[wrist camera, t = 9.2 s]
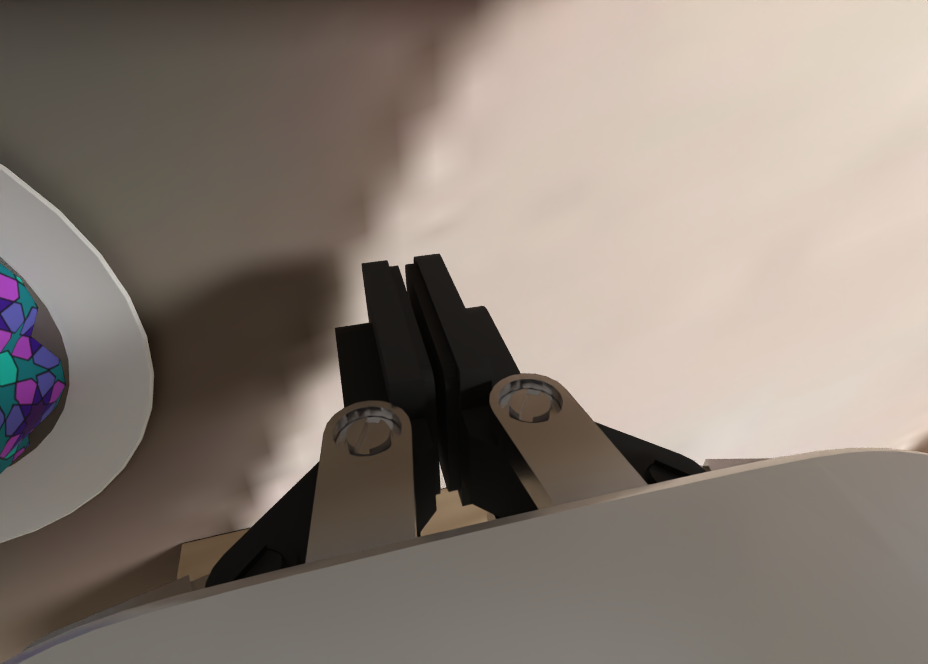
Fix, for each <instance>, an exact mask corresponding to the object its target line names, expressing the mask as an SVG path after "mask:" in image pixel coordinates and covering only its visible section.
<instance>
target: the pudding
mask: <svg viewBox="0 0 928 664" xmlns="http://www.w3.org/2000/svg"><path fill="white" fill-rule="evenodd" d="M0 257H1V258H2V259H3V260H4V261H6V262H7V263H8V264H9V265H10V266H11V267H12V268H13V269H14V270H15V271H16V272H18V273H19V274H20V275H21V276H22V277H23V278H24V279H25V281H26V282H27V283H28V284H29V286H30V287H31V288H32V289H33V291H34V292H35V293H36V294H37V296H38V297H39V298H40V299H41V301H42V302H43V303H44V304H45V306H46V307H47V309H48V311H49V313H50V315H51V316H52V318H53V320H54V322H55V324H56V326H57V327H58V329H59V331H60V333H61V336H62V339H63V343H64V346H65V350H66V353H67V356H68V360H69V383H70V386H69V390H68V394H67V399H66V403H65V407H64V410H63V412H62V414H61V415H60V417H59V419H58V421H57V423H56V425H55V427H54V428H53V430H52V431H51V432H50V433H49V434H48V436H47V437H46V438H45V439H44V440H43V441H42V442H41V443H40V444H39V446H38V447H37V448H36V449H34V450H33V451H32V452H30V453H29V454H27V455H26V456H25V457H23V458H22V459H21V460H19V461H18V462H16V463H15V464H13V465H11V466H9V465H10V464H11V463H12V462H13V461H14V460H15V459H16V458H17V457H18V456H19V455H20V454H21V453H22V452H23V451H24V450H25V449H26V448H27V447H28V446H29V439H28V435H29V434H30V433H31V432H32V431H33V430H34V429H35V428H36V427H37V426H38V425H39V424H40V423H41V422H42V421H43V420H44V419H45V418H46V417H47V416H48V415H49V414H50V413H51V412H52V411H53V410H54V409H55V408H56V407H57V404H58V402H59V400H60V397H61V395H62V393H63V390H64V388H65V386H66V384H65V379H64V374H63V370H62V365H61V360H60V359H58V358H57V357H56V356H55V355H53V354H52V353H51V352H50V351H48V350H47V349H46V348H45V347H43V346H42V345H41V344H40V343H38V342H37V341H36V340H35V339H33V338H32V337H31V334H32V330H33V326H34V322H35V318H36V314H37V310H38V306H37V305H36V303H35V302H34V300H33V298H32V297H31V295H30V294H29V292H28V291H27V289H26V287H25V286H24V284H23V283H22V281H21V279H20V278H18V277H17V276H16V275H15V274H13V273H12V272H11V271H9V270H8V269H7V268H5V267H4V266H3V265H1V264H0V543H2V542H5V541H8V540H11V539H14V538H17V537H20V536H22V535H25V534H28V533H31V532H34V531H37V530H39V529H41V528H43V527H45V526H47V525H49V524H51V523H53V522H55V521H57V520H59V519H61V518H63V517H65V516H67V515H69V514H71V513H72V512H74V511H75V510H76V509H78V508H79V507H81V506H82V505H83V504H85V503H86V502H88V501H89V500H91V499H92V498H93V497H95V496H96V495H98V494H99V493H100V492H102V491H103V490H104V489H105V487H106V486H107V485H108V484H109V483H110V482H111V481H112V480H113V479H114V478H115V477H116V476H117V475H118V474H119V473H120V472H121V471H122V470H123V469H124V468H125V467H126V465H127V463H128V462H129V460H130V458H131V457H132V455H133V454H134V452H135V450H136V449H137V447H138V445H139V444H140V442H141V441H142V438H143V435H144V432H145V429H146V426H147V423H148V420H149V417H150V413H151V410H152V402H153V384H154V371H153V366H152V360H151V355H150V350H149V345H148V339H147V335H146V333H145V331H144V329H143V326H142V324H141V322H140V319H139V317H138V315H137V312H136V310H135V308H134V305H133V303H132V301H131V298H130V296H129V295H128V293H127V292H126V290H125V289H124V287H123V286H122V284H121V283H120V281H119V280H118V278H117V277H116V276H115V274H114V273H113V271H112V270H111V268H110V267H109V265H108V264H107V262H106V261H105V259H104V258H103V256H102V255H101V254H100V253H99V252H98V250H97V249H96V248H95V247H94V246H93V245H92V244H91V243H90V242H89V241H88V240H87V239H86V238H85V237H84V236H83V234H82V233H81V232H80V231H79V230H78V229H77V228H76V227H75V226H74V225H73V224H72V223H71V222H70V221H69V220H68V219H67V217H66V216H65V215H64V214H63V213H62V212H61V211H60V210H59V209H57V208H56V207H55V206H54V205H52V204H51V203H50V202H49V201H47V200H46V199H45V198H44V197H42V196H41V195H40V194H39V193H37V192H36V191H35V190H34V189H32V188H31V187H30V186H29V185H27V184H26V183H25V182H24V181H23V180H21V179H20V178H19V177H18V176H16V175H15V174H14V173H13V172H11V171H10V170H9V169H8V168H6V167H5V166H3V165H2V164H0ZM8 466H9V467H8Z"/></svg>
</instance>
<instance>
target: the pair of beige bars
mask: <svg viewBox="0 0 928 664" xmlns="http://www.w3.org/2000/svg"><path fill="white" fill-rule="evenodd" d="M436 507H437V511H436V512H435V513H434V515H433V516H432V517H431V519H430V520H429V521H428V523H427V524H426V525H425V527H424V528H423V530H422V531H421V536H425V535H430V534H434V533H438V532H443V531H447V530H451V529H456V528H460V527H465V526H469V525H473V524H478V523H482V522H486V521H488V520H487V511H485V510H483V509H481V508H479V507H477V506H475V505H473V504H471V505H467V506H462V504H461V500H460V497H459V494H458V490H456V491H451V492H448V490H447V488H446V489H442V490H441V493H440V494H437V495H436ZM248 530H249V529H245V530H241V531H237V532H232V533H228V534H224V535H219V536H215V537H211V538H206V539H202V540H197V541H193V542H189V543H184V544H182V548H181V554H180V561H179V567H178V573H177V579H180V578H182V577H184V576H187V575H190V577H191V579H192V581H193V580H196V579H198V578H200V577H203V576H205V575H207V574H210V572H211V570H212V568H213V567H214V565H215V564H216V563H217V562H218V561H219V559H220V558H221V557H222V556H223V554H224V553H226V552H227V551H228V550H229V549H230V548H231V547H232V546H233V545H234V544H235V543H236V542H237V541H238V540H239V539H240V538H241V537H242V536H243V535H244V534H245V533H246V532H247V531H248ZM177 579H176V580H177Z"/></svg>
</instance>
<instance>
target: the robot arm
mask: <svg viewBox="0 0 928 664" xmlns="http://www.w3.org/2000/svg"><path fill="white" fill-rule="evenodd" d="M362 272H363V280H364V287H365V295H366V303H367V310H368V318H369V323H364V324H358V325H351V326H344V327H338V328H335V333H336V342H337V350H338V359H339V367H340V376H341V384H342V392H343V401H344V408H343V409H342V410H340V411H339V412H337V413H336V414H335V415H334V416H333V417H332V418H331V419H330V421H329V422H328V423H327V425H326V428H325V430H324V433H323V440H322V447H321V454H320V461H319V462H318V463H317V464H316V465H315V466H314V467H313V468H312V469H311V470H310V471H309V472H308V473H307V474H306V475H305V476H304V477H303V478H302V479H301V480H300V481H299V482H298V483H297V484H296V485H295V486H293V487H292V488H291V489H290V490H289V491H288V492H287V493H286V494H285V495H284V496H283V497H282V498H281V499H280V500H279V501H278V502H277V503H276V504H275V505H274V506H273V507H272V508H271V509H270V510H269V511H268V512H267V513H266V514H265V515H264V516H263V517H262V518H261V519H259V520H258V521H257V522H256V523H255V524H254V525H253V526H252V527H251V528H250V529H249V530H248V531H247V532H246V533H245V534H244V535H243V536H242V537H241V538H240V539H239V540H238V541H237V542H236V543H235V544H234V545H233V546H232V547H231V548H230V549H229V550H228V551H227V552H226V553H224V554H223V556H222V557H221V558H220V559H219V561H218V562H217V563H216V564H215V565H214V567H213V568H212V570H211V572H210V574H207V575H205V576H203V577H200V578H198V579H196V580H193V581H192V579H191V577H190V575H187V576H184V577H182V578H180V579H177V580H175V581H173V582H170V583H168V584H165V585H163V586H161V587H158V588H156V589H154V590H151V591H149V592H146V593H144V594H142V595H139V596H137V597H135V598H132V599H130V600H127V601H125V602H123V603H120V604H118V605H116V606H113V607H111V608H108V609H106V610H104V611H101V612H99V613H97V614H94V615H92V616H89V617H87V618H85V619H82V620H80V621H78V622H75V623H73V624H70V625H68V626H66V627H63V628H61V629H59V630H56V631H54V632H52V633H49V634H48V635H46V636H44V637H42V638H41V639H39V640H37V641H35V642H34V643H32V644H30V645H29V646H28V647H27V648H25V649H24V650H23V651H22V652H21V653H19V654H17V655H16V656H14V657H12V658H10V659H8V660H7V661H5V662H3V663H1V664H928V453H923V452H917V451H908V450H899V449H889V448H845V449H833V450H822V451H814V452H809V453H803V454H797V455H790V456H784V457H778V458H768V459H706V460H705V463H704V465H703V466H700V465H698V464H697V463H696V462H695V461H693V460H691V459H689V458H687V457H685V456H683V455H681V454H679V453H676V452H673V451H671V450H668V449H665V448H663V447H660V446H657V445H655V444H652V443H649V442H647V441H644V440H641V439H639V438H636V437H633V436H631V435H628V434H625V433H623V432H620V431H617V430H615V429H612V428H609V427H607V426H604V425H601V424H599V423H596V422H594V421H593V420H592V419H591V418H590V416H589V415H588V414H587V413H586V412H585V411H584V409H583V408H582V407H581V406H580V405H579V404H578V402H577V401H576V400H575V399H574V398H573V397H572V395H571V394H570V393H569V392H568V391H567V390H566V389H565V388H564V387H563V386H562V385H561V384H560V383H558V382H557V381H555V380H553V379H551V378H549V377H546V376H542V375H538V374H527V373H522V374H521V373H520V371H519V369H518V367H517V366H516V364H515V362H514V360H513V358H512V356H511V354H510V352H509V350H508V348H507V347H506V345H505V343H504V341H503V339H502V337H501V335H500V333H499V331H498V329H497V327H496V326H495V324H494V322H493V320H492V318H491V316H490V314H489V312H488V310H487V309H486V308H485V307H484V306H479V307H472V308H465V306H464V304H463V302H462V300H461V298H460V296H459V294H458V291H457V289H456V287H455V285H454V283H453V281H452V279H451V276H450V274H449V272H448V270H447V268H446V266H445V264H444V262H443V259H442V257H441V255H440V254H432V255H425V256H417V257H414V264H406V265H405V273H406V285H407V291H406V288H405V285H404V282H403V279H402V276H401V273H400V270H399V267H398V266H391V267H389V264H388V261H387V260H385V261H378V262H370V263H362ZM439 462H440V466H441V469H442V473H443V476H444V480H445V483H446V487H447V490H448V492H451V491H456V490H458V494H459V497H460V500H461V504H462V506H467V505H471V504H473V505H475V506H477V507H479V508H481V509H483V510H485V511H487V520H488V521H486V522H482V523H478V524H473V525H469V526H465V527H460V528H456V529H451V530H447V531H443V532H438V533H434V534H430V535H425V536H421V531H422V530H423V528H424V527H425V525H426V524H427V523H428V521H429V520H430V519H431V517H432V516H433V515H434V513H435V512H436V511H437V507H436V495H437V494H440V493H441V489H440V470H439Z"/></svg>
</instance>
